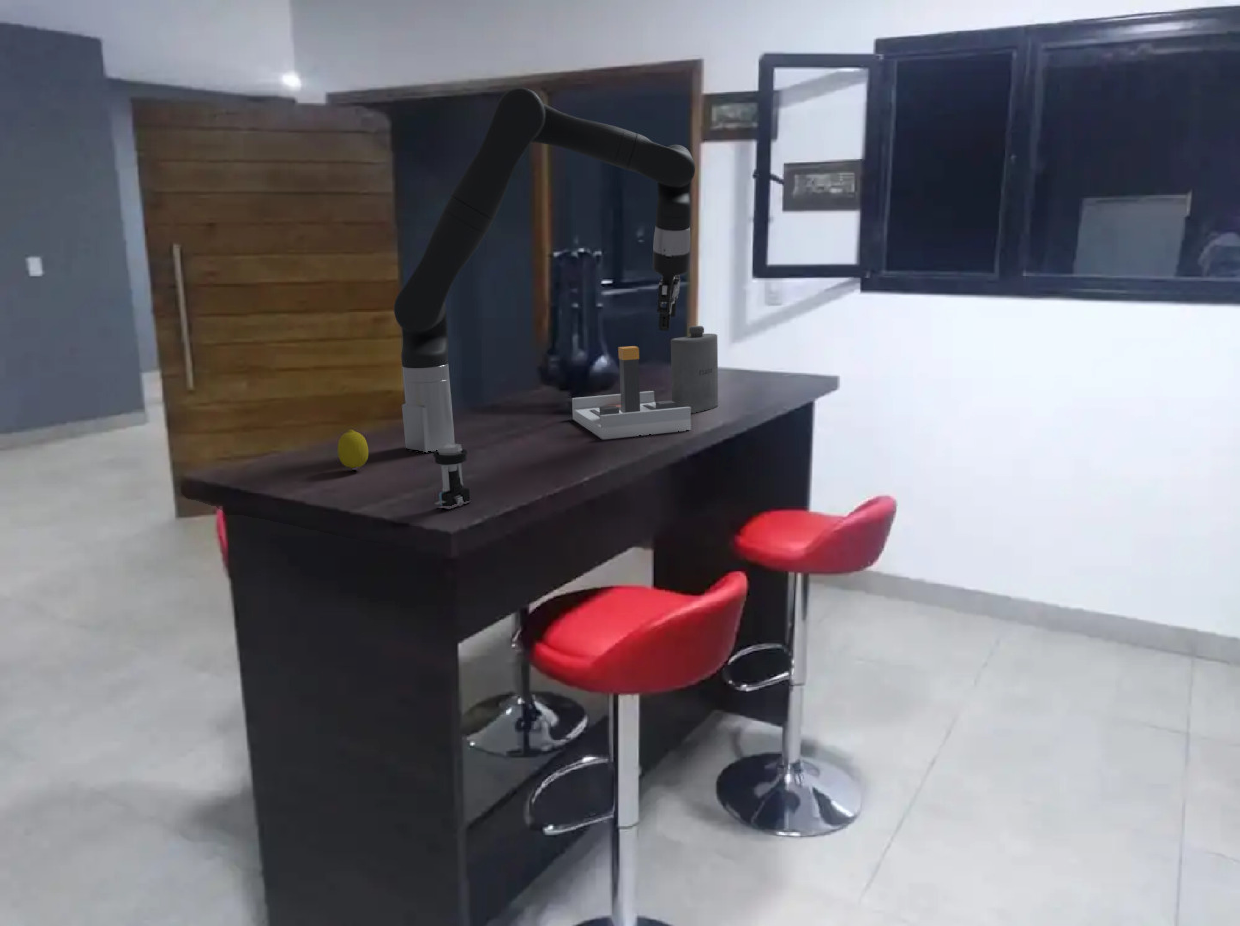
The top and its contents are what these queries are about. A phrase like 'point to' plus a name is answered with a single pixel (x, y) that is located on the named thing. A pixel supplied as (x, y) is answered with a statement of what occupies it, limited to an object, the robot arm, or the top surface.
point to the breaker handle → (629, 378)
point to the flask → (695, 370)
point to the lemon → (352, 449)
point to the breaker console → (629, 416)
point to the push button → (451, 474)
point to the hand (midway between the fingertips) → (667, 322)
